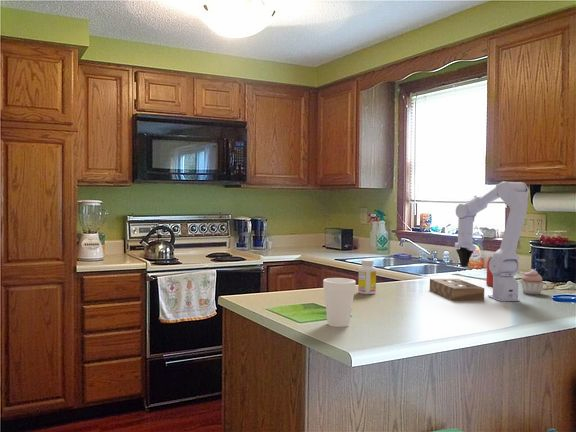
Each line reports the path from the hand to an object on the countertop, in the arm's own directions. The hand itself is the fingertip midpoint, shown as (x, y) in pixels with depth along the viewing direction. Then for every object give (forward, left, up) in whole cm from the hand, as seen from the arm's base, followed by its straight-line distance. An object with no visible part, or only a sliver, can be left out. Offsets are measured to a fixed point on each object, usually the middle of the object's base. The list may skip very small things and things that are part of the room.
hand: (464, 266), depth 229 cm
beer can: (+8, -18, -10) cm, 22 cm away
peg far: (-7, +9, -9) cm, 14 cm away
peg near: (-17, +9, -9) cm, 21 cm away
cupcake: (-10, -24, -10) cm, 28 cm away
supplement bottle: (-7, +43, -10) cm, 45 cm away
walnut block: (-12, +9, -9) cm, 18 cm away
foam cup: (-56, +66, -10) cm, 87 cm away
